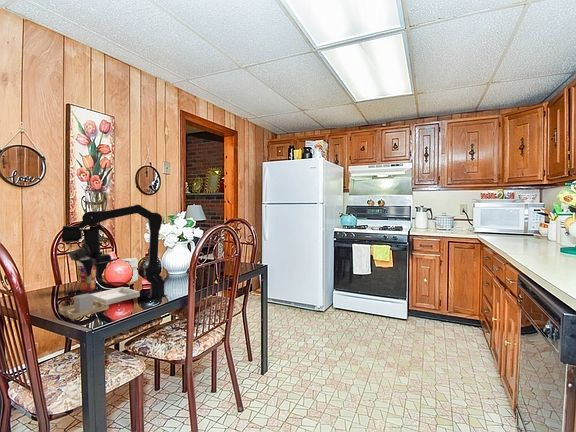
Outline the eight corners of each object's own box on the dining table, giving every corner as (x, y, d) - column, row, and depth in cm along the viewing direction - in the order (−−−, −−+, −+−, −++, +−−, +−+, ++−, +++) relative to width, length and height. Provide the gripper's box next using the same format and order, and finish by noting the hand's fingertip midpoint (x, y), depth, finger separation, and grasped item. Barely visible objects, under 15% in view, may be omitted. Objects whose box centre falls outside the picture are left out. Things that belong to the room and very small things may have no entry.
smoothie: (92, 287, 166) (91, 249, 165) (100, 289, 161) (99, 250, 160) (74, 290, 159) (73, 251, 158) (82, 293, 154) (80, 253, 153)
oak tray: (108, 309, 131) (108, 305, 131) (73, 319, 121) (72, 314, 120) (93, 304, 139) (93, 299, 139) (58, 312, 128) (58, 308, 128)
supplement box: (129, 283, 173) (129, 260, 172) (117, 282, 175) (117, 260, 174) (138, 280, 180) (138, 258, 180) (127, 279, 182) (126, 257, 181)
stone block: (93, 309, 130) (93, 295, 130) (80, 313, 126) (79, 298, 126) (87, 307, 133) (87, 293, 133) (74, 310, 129) (74, 296, 129)
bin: (139, 297, 149) (139, 291, 149) (106, 306, 136) (105, 300, 136) (122, 291, 157) (122, 286, 157) (89, 299, 145) (89, 294, 145)
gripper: (60, 241, 133) (62, 278, 134) (81, 244, 123) (83, 284, 124) (89, 238, 143) (90, 272, 143) (110, 241, 132) (112, 278, 133)
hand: (93, 276), depth 136 cm, fingers open, 9 cm apart
